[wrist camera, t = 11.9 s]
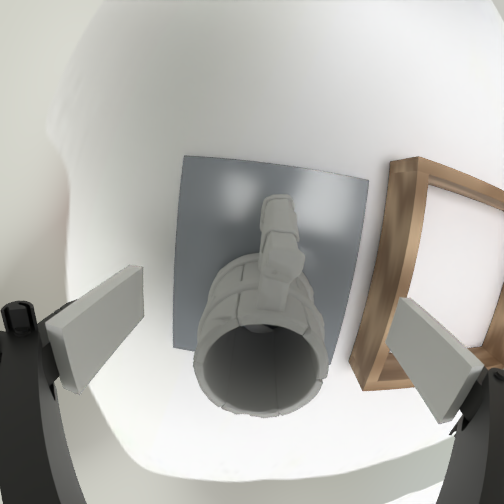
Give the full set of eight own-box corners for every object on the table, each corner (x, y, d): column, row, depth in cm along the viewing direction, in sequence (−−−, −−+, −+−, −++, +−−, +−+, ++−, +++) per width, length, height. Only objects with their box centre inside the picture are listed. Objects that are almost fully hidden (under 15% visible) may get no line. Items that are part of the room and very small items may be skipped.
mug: (208, 333, 22) (171, 444, 10) (221, 187, 20) (168, 181, 8) (299, 343, 22) (325, 457, 10) (325, 200, 20) (407, 214, 8)
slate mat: (186, 156, 20) (183, 155, 19) (366, 180, 20) (368, 180, 19) (175, 344, 23) (173, 347, 23) (328, 361, 23) (330, 364, 23)
